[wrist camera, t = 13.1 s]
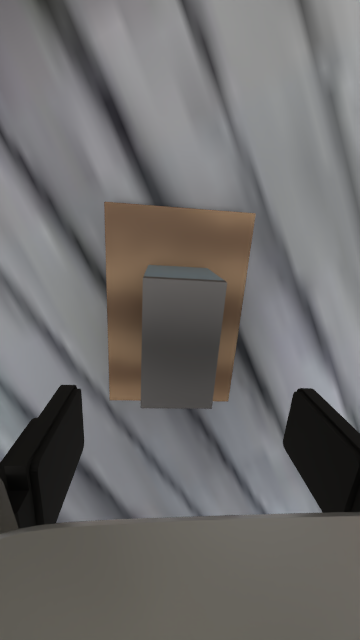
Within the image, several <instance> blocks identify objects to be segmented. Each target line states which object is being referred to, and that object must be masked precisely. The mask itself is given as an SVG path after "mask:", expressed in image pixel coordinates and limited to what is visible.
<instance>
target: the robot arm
mask: <svg viewBox="0 0 360 640" xmlns="http://www.w3.org/2000/svg"><path fill="white" fill-rule="evenodd" d="M283 445H284V448H285V450H286V452H287V453H288V455H289V457H290V458H291V460H292V462H293V463H294V465H295V467H296V468H297V470H298V472H299V473H300V475H301V477H302V478H303V480H304V482H305V483H306V485H307V487H308V488H309V490H310V492H311V493H312V495H313V497H314V498H315V500H316V502H317V503H318V505H319V507H320V508H321V510H322V512H323V513H291V514H256V515H224V516H193V517H167V518H141V519H115V520H98V521H80V522H64V523H56V521H57V518H58V516H59V513H60V510H61V508H62V505H63V502H64V499H65V497H66V494H67V491H68V489H69V486H70V483H71V481H72V478H73V475H74V473H75V470H76V467H77V464H78V462H79V459H80V456H81V454H82V451H83V447H84V430H83V413H82V396H81V389H77V387H76V385H61V386H60V387H59V388H58V390H57V391H56V393H55V394H54V395H53V397H52V398H51V400H50V401H49V403H48V404H47V406H46V407H45V408H44V410H43V411H42V413H41V414H40V416H39V417H38V418H34V419H32V420H31V421H30V422H29V424H28V425H27V427H26V428H25V429H24V431H23V432H22V434H21V435H20V436H19V438H18V439H17V440H16V442H15V443H14V445H13V446H12V447H11V449H10V450H9V451H8V453H7V454H6V456H5V457H4V458H3V460H2V461H1V463H0V640H360V433H358V432H357V431H356V430H355V429H354V428H353V427H352V426H351V425H350V424H349V423H348V422H347V421H346V420H345V419H344V418H343V417H342V416H341V415H340V414H339V413H338V412H337V411H336V410H335V409H334V408H333V407H332V406H330V405H329V404H328V403H327V402H326V401H325V400H324V399H323V398H322V397H321V396H320V395H319V394H318V393H317V392H316V391H315V390H314V389H308V388H300V389H298V390H297V392H294V394H293V398H292V403H291V407H290V412H289V416H288V421H287V425H286V430H285V434H284V439H283Z"/></svg>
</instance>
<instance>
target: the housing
mask: <svg viewBox="0 0 360 640" xmlns="http://www.w3.org/2000/svg"><path fill="white" fill-rule="evenodd" d="M226 289H227V282H226V281H225V280H223V279H222V278H220V277H219V276H218V275H216V274H215V273H213V272H212V271H211V270H209V269H208V268H196V267H179V266H161V265H148V267H147V269H146V272H145V274H144V276H143V296H142V354H141V408H195V409H212V402H213V394H214V386H215V378H216V370H217V362H218V354H219V345H220V337H221V329H222V321H223V313H224V305H225V297H226Z"/></svg>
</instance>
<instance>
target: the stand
mask: <svg viewBox="0 0 360 640" xmlns="http://www.w3.org/2000/svg"><path fill="white" fill-rule="evenodd" d="M104 206H105V243H106V279H107V316H108V353H109V389H110V400H141V354H142V296H143V276H144V274H145V272H146V269H147V267H148V265H161V266H179V267H196V268H208V269H209V270H211V271H212V272H213V273H215V274H216V275H218V276H219V277H220V278H222V279H223V280H225V281H226V282H227V289H226V297H225V305H224V313H223V321H222V329H221V337H220V345H219V354H218V362H217V370H216V378H215V386H214V394H213V401H228V398H229V391H230V385H231V378H232V371H233V364H234V357H235V350H236V344H237V337H238V330H239V323H240V316H241V310H242V303H243V296H244V289H245V282H246V275H247V269H248V262H249V255H250V248H251V241H252V235H253V228H254V221H255V213H242V212H229V211H216V210H203V209H191V208H178V207H165V206H152V205H139V204H126V203H113V202H104Z"/></svg>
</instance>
